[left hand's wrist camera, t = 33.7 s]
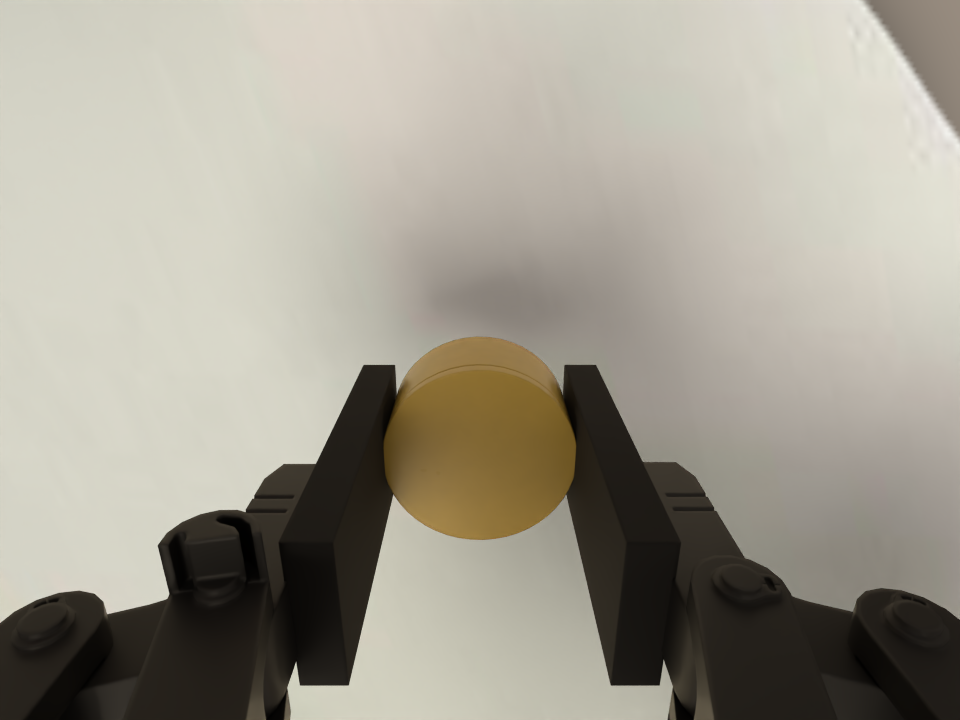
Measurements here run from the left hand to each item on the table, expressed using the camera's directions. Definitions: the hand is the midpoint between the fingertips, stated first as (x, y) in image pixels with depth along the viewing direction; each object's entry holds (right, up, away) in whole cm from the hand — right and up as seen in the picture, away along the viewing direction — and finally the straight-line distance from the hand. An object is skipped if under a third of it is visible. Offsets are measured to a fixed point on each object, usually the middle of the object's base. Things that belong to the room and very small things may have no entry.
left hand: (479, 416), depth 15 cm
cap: (0, -1, -2) cm, 2 cm away
